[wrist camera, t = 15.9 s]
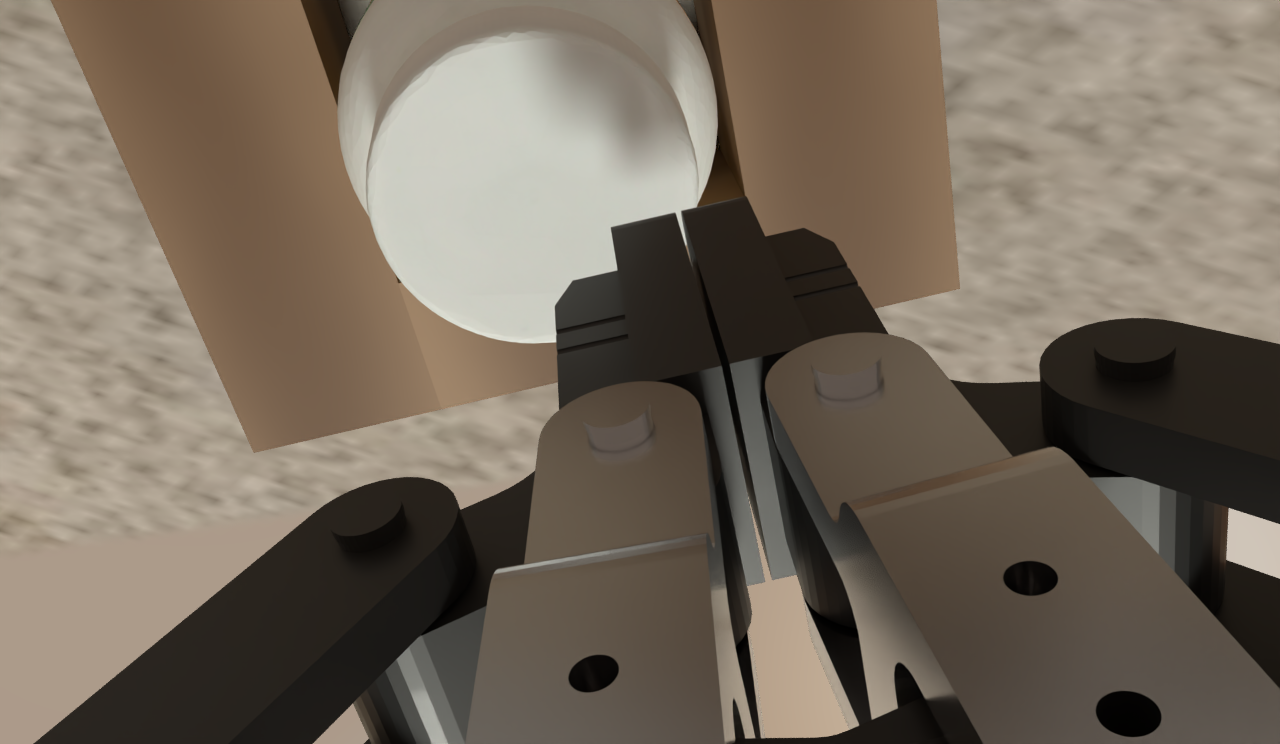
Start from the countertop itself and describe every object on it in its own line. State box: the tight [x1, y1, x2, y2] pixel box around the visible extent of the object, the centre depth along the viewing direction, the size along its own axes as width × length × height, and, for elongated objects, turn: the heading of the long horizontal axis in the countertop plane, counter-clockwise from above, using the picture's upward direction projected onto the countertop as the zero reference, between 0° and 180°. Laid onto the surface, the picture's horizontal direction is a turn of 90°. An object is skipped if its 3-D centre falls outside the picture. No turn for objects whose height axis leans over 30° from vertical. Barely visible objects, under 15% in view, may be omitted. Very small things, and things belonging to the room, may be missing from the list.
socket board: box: [51, 0, 960, 453], centre depth 21 cm, size 14×12×3 cm
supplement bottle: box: [337, 0, 718, 343], centre depth 18 cm, size 5×5×10 cm
